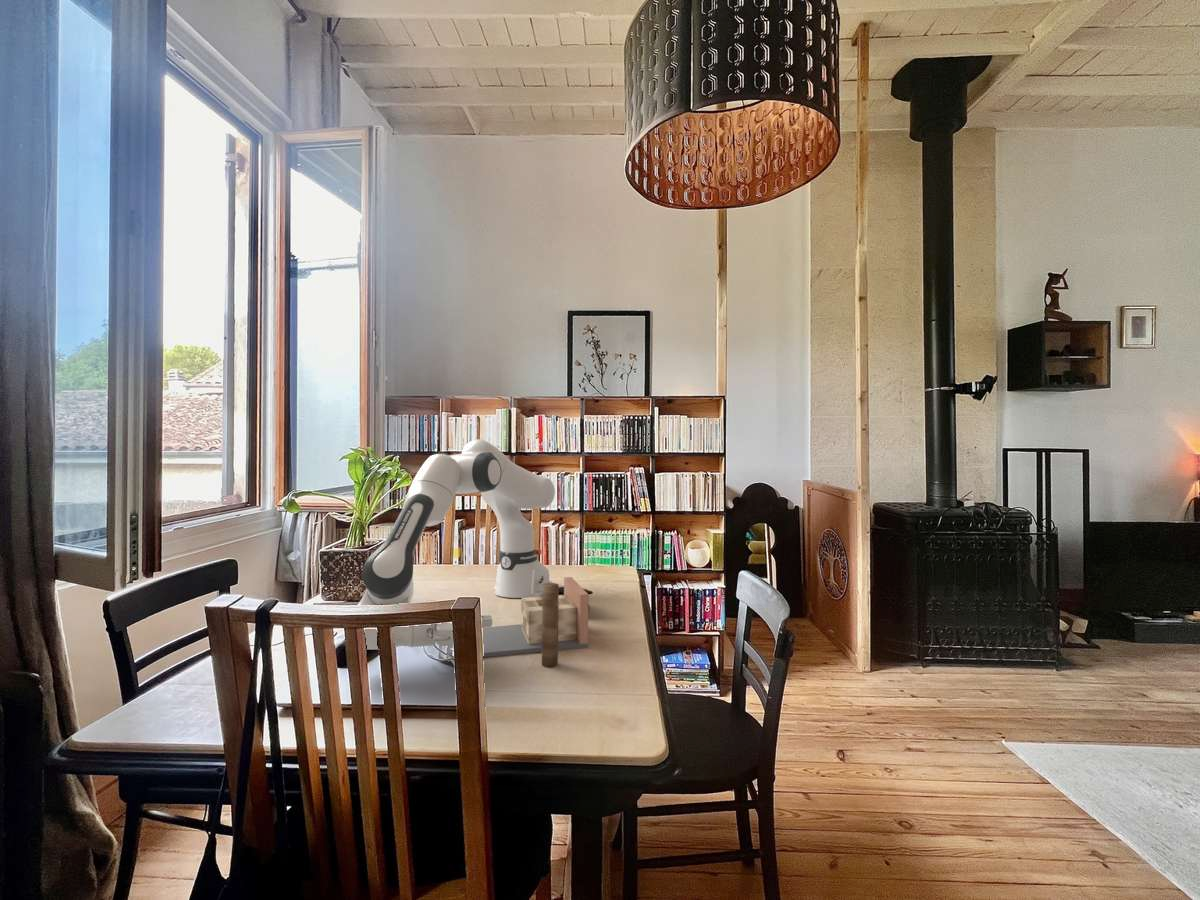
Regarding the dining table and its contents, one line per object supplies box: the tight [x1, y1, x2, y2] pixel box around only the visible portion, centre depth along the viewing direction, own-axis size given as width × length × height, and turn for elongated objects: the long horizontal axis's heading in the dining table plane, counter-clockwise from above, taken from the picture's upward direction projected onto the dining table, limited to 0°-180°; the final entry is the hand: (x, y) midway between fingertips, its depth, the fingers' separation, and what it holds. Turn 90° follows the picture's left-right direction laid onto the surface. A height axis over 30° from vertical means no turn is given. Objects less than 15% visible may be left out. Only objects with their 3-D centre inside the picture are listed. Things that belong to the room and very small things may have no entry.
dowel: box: [541, 582, 560, 669], centre depth 128 cm, size 4×4×18 cm
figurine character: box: [559, 586, 594, 613], centre depth 168 cm, size 7×8×15 cm
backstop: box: [483, 576, 589, 658], centre depth 143 cm, size 27×18×13 cm, turn 106°
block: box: [520, 595, 577, 644], centre depth 145 cm, size 12×12×8 cm
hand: (491, 620), depth 128 cm, fingers closed
